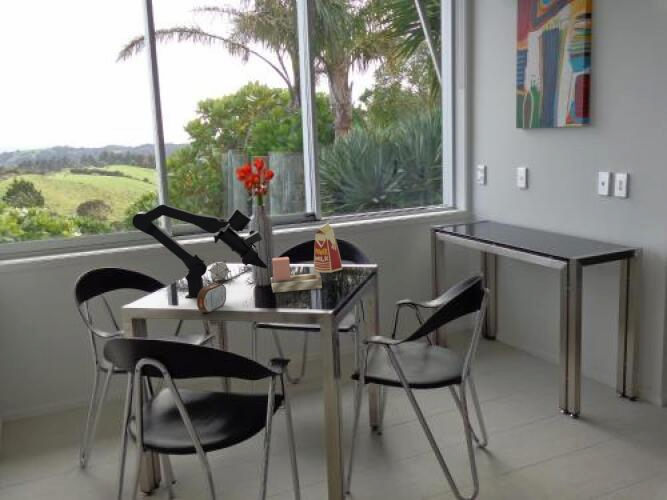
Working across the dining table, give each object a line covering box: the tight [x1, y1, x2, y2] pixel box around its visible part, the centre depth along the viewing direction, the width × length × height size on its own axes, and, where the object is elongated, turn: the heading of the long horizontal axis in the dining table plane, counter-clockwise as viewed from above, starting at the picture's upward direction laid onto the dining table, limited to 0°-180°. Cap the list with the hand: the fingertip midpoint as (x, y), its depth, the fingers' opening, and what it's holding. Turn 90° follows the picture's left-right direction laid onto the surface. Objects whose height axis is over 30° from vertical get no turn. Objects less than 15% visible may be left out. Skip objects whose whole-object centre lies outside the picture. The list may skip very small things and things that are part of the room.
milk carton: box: [313, 221, 343, 273], centre depth 275 cm, size 9×9×20 cm
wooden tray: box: [270, 271, 323, 294], centre depth 250 cm, size 18×13×4 cm
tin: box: [196, 282, 227, 314], centre depth 223 cm, size 15×3×8 cm, turn 159°
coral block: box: [271, 256, 291, 281], centre depth 248 cm, size 6×5×10 cm
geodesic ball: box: [207, 259, 232, 282], centre depth 270 cm, size 9×8×10 cm
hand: (266, 267), depth 247 cm, fingers closed
